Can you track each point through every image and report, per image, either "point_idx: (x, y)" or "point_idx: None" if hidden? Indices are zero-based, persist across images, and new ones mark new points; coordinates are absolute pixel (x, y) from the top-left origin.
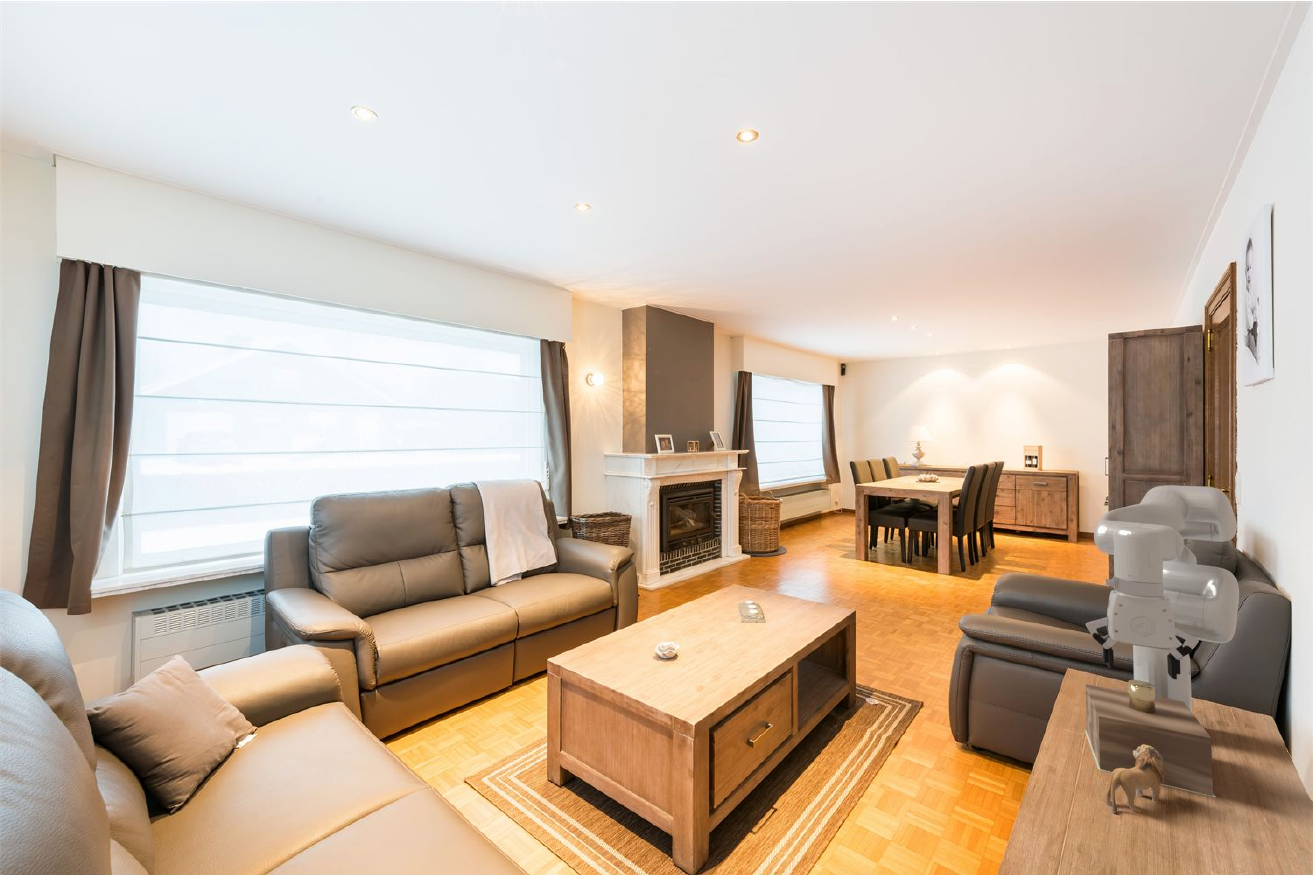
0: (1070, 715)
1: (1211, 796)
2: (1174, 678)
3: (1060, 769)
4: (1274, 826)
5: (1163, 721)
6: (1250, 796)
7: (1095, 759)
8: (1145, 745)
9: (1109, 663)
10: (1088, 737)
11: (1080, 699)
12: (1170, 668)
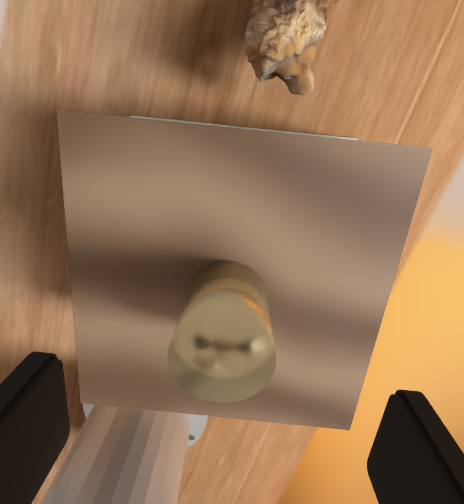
0: None
1: (138, 116)
2: (46, 354)
3: (453, 104)
4: (46, 37)
5: (187, 202)
6: None
7: None
8: (297, 32)
9: (439, 421)
10: None
11: (270, 471)
12: (26, 432)
